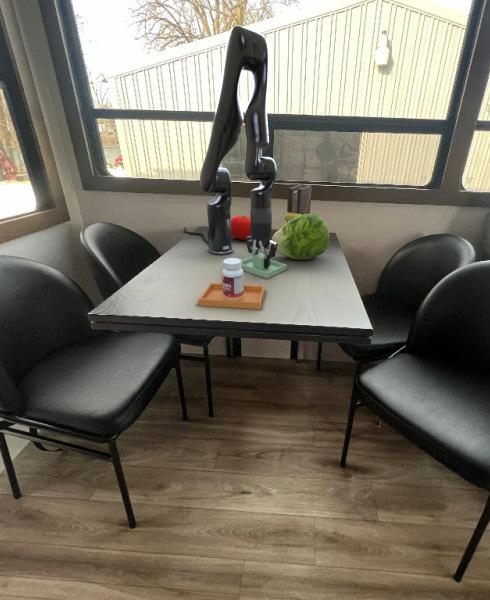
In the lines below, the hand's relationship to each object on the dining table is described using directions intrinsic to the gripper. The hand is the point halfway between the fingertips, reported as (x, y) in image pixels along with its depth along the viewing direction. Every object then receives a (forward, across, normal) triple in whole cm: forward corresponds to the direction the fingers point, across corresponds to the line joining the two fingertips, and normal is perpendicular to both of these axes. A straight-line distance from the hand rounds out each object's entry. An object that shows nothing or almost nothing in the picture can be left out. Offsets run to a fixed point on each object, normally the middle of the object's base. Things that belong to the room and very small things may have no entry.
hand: (261, 266), depth 111 cm
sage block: (0, 0, 0) cm, 0 cm away
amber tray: (+1, -10, +24) cm, 26 cm away
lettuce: (+1, -4, -20) cm, 20 cm away
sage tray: (+1, 0, 0) cm, 1 cm away
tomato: (+1, +33, -25) cm, 41 cm away
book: (+1, +13, -43) cm, 45 cm away
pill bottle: (+1, -10, +24) cm, 26 cm away
